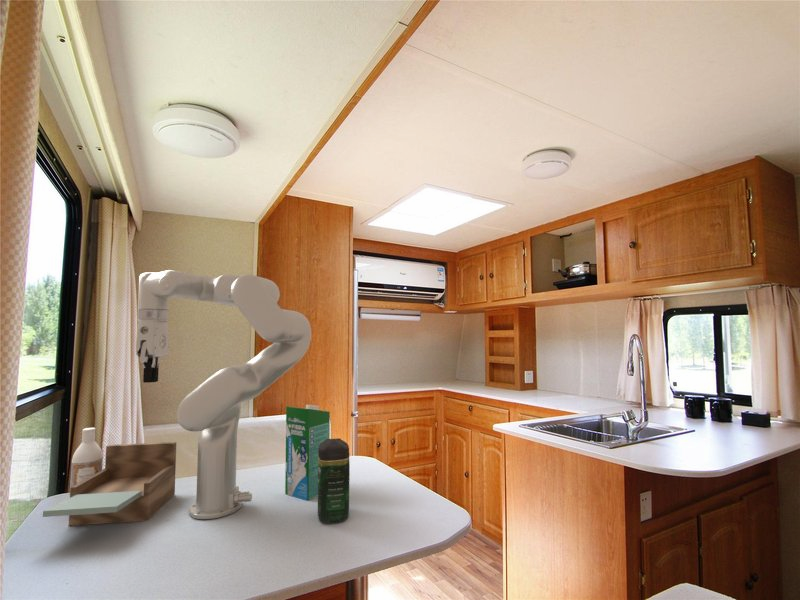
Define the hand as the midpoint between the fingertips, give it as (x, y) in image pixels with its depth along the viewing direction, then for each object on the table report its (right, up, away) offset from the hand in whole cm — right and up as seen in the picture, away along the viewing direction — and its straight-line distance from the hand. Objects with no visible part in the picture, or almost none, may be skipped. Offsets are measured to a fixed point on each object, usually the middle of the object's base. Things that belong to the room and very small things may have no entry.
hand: (150, 381), depth 113 cm
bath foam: (-18, -34, 0) cm, 38 cm away
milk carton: (+43, -33, +5) cm, 54 cm away
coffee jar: (+53, -32, -11) cm, 63 cm away
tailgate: (-2, -26, -13) cm, 29 cm away
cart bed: (-3, -33, -5) cm, 33 cm away
